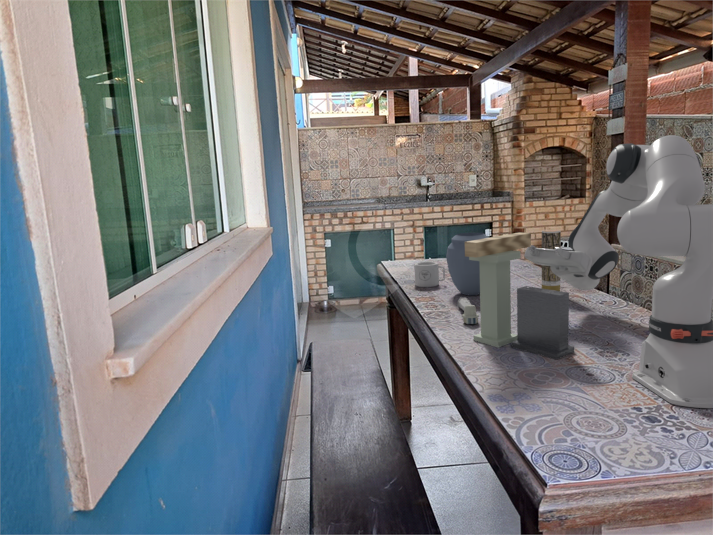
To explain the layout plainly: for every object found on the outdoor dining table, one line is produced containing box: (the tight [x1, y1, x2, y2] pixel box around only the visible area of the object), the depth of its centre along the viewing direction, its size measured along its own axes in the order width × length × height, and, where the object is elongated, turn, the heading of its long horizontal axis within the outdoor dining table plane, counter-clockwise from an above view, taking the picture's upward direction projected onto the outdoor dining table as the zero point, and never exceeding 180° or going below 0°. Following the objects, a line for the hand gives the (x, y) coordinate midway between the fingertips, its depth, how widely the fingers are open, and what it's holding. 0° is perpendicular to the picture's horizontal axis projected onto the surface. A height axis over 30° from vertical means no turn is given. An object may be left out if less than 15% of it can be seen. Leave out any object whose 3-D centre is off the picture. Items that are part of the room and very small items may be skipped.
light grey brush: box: [457, 296, 480, 325], centre depth 178 cm, size 5×7×25 cm
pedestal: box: [469, 250, 522, 348], centre depth 148 cm, size 10×10×26 cm
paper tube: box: [541, 229, 562, 291], centre depth 198 cm, size 7×7×25 cm
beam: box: [465, 231, 532, 258], centre depth 146 cm, size 24×4×4 cm, turn 126°
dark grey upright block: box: [510, 285, 575, 360], centre depth 138 cm, size 8×14×16 cm, turn 36°
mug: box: [413, 260, 446, 288], centre depth 230 cm, size 14×11×10 cm
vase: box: [445, 232, 490, 296], centre depth 208 cm, size 20×20×24 cm
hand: (543, 248), depth 159 cm, fingers open, 8 cm apart
